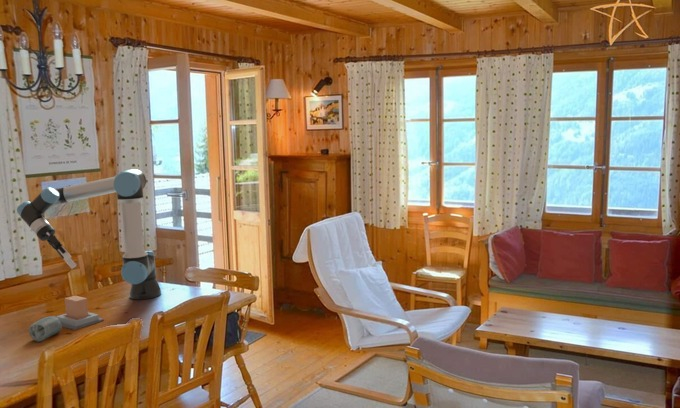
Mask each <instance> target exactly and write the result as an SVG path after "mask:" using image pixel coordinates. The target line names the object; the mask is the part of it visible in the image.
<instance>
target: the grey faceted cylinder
mask: <svg viewBox="0 0 680 408" xmlns="http://www.w3.org/2000/svg"><path fill="white" fill-rule="evenodd" d="M62 328H63V327H62V325H61V322H60V320H59V319H58V318H57V317H56V315H50V316H46V317H43V318H41V319H39V320H37V321H35V322H34V323H31V325H30V326H29V327H28V334H29V336H30V337H31V339H32V340H34V342H36V343H37V342H38V343H40V342H43V341H45V340H46V339H48V338H51V337H52V336H54V335H56V334H58V333H60V332H61V331H62Z"/></svg>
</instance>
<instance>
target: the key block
mask: <svg viewBox="0 0 680 408" xmlns="http://www.w3.org/2000/svg"><path fill="white" fill-rule="evenodd" d="M64 306H65V314H66V317H69V318H72V319H76V320H78V319H81V318H84V317H88V312H89V310H88V309H89V307H88V299H87V297H83V296H78V295H73V296H69V297H65V298H64Z"/></svg>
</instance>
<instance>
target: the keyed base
mask: <svg viewBox="0 0 680 408" xmlns="http://www.w3.org/2000/svg"><path fill="white" fill-rule="evenodd" d="M55 317H57V318H58V319H59V320H60V322H61V325H62V328H66V329H69V330H72V331H75V330H79V329H82V328H85V327H87V326H91V325H94V324H97V323H101V322H104V318H101V317H100V316H99V314H97V313H94V312H90V311H88V317H84V318H81V319H78V320H76V319H72V318H69V317H66V313H63V314H60V315H55Z"/></svg>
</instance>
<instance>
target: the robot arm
mask: <svg viewBox="0 0 680 408" xmlns="http://www.w3.org/2000/svg"><path fill="white" fill-rule="evenodd" d="M146 185H147V176H146V175H145V174H144V173H143V171H141V170H139V169H136V168H130V169H125V170H123V171H120V172H119V173H117V174H116V175H115V176H111V177H107V178H101V179H98V180H97V179H96V180H92V181H87V182H84V183H83V182H82V183H77V184H74V185H69V186H65V187H64V186H63V187H59V188H53V187H50V186H48V187H46V188H44V189H43V190H41V192H40V193H39V194H38V195H36V197H35V198H34V199H33V200H32V201H28V200H26V201H24V202H22V203H21V204H19V205H18V206H17V208H16V213H17V214H18V215H19V217H20V218H21V220H23V221H24V223H25V224H26V225H27V226H28V227H29V228H30V231H31V232H33V233H34V234H35V235H36V237H37V238H38V239H39V240H40V241H41V242H43V241H46V242H47V243H48V244H49V246H51V247H52V248H53V249H54V250H55V251H56V252H57V254H58V255H59V256H60V257H61V259H62V260H63V261H65V263H66V264H67V265H68V266H69V268H70V269H71V270H73V269H74V268H76V267H77V263H76V262H74V260H73V259H72V258H73V256H72V255H71V254H70V253H69V251H68V250H67V249H66V248H65V247H64V246H63V244H62V243H61V241H59V240H58V239H57V236H55V233H56V230H55V228H54V227H53V226H52V225H51V223H50V222H49V221H48V220H47V218H46V217H44V216H43V215H44V214H46V212H47V211H48V210H50V208H51V207H54V206H58V205H62V204H66V203H70V202H75V201H81V200H84V199H89V198H95V197H100V196H105V195H108V194H114V193H116V197H117V200H118V202H120V204H121V215H122V226H123V240H124V250H125V251H124V254H122V267H121V270H120V274H121V277H122V280H123V281H125V282H126V283H128V284H130V290H129V299H132V300H148V299H154V298H157V297H159V296H160V295H161V294H162V290H161V288H160V285H159V282H158V280H157V272H156V270H157V269H156V260H155V259H156V256H155V252H154V250H145V242H144V230H143V220H142V219H143V217H142V205H141V202H142V200H143V199H144V188H146Z"/></svg>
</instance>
